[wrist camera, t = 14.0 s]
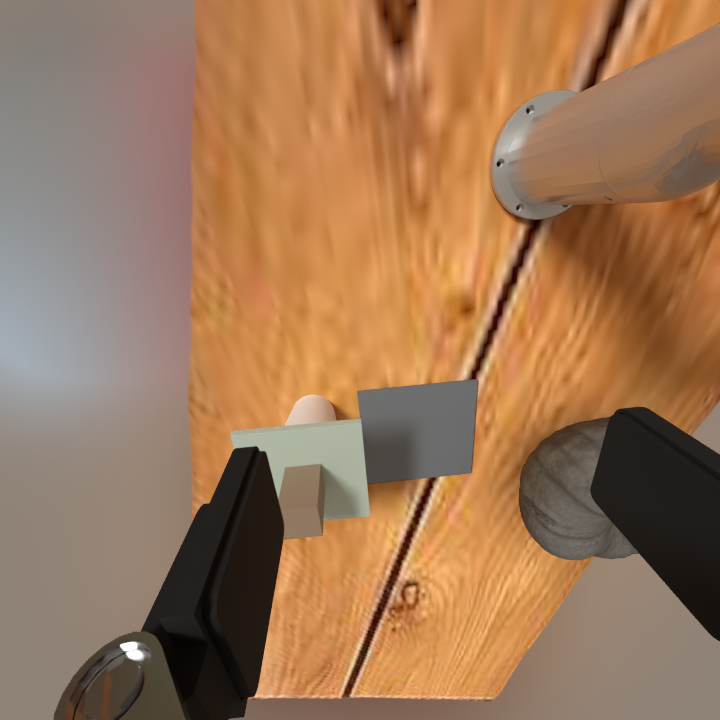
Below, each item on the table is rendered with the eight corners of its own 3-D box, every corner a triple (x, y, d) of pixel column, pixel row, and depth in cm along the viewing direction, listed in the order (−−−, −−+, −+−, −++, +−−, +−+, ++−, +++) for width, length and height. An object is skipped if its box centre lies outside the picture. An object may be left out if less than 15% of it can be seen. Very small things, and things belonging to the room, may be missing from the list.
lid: (361, 418, 36) (365, 461, 30) (369, 510, 42) (374, 562, 36) (232, 431, 36) (209, 476, 30) (258, 522, 42) (244, 576, 36)
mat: (476, 379, 50) (477, 380, 49) (470, 471, 57) (471, 473, 57) (357, 391, 50) (357, 392, 49) (366, 481, 57) (366, 484, 57)
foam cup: (350, 391, 50) (353, 448, 38) (338, 441, 53) (337, 507, 41) (286, 381, 48) (269, 436, 36) (278, 432, 52) (260, 498, 40)
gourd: (511, 406, 49) (614, 506, 34) (650, 377, 53) (795, 455, 39) (488, 512, 62) (556, 618, 47) (601, 482, 66) (696, 571, 51)
